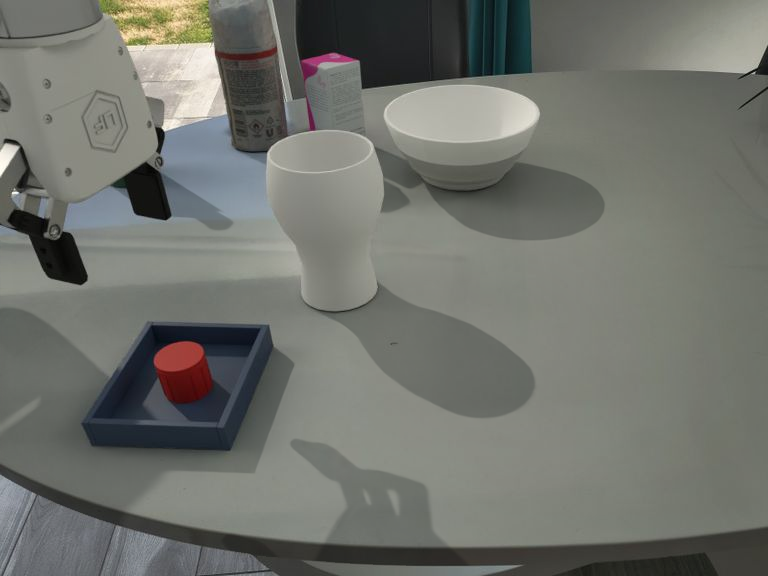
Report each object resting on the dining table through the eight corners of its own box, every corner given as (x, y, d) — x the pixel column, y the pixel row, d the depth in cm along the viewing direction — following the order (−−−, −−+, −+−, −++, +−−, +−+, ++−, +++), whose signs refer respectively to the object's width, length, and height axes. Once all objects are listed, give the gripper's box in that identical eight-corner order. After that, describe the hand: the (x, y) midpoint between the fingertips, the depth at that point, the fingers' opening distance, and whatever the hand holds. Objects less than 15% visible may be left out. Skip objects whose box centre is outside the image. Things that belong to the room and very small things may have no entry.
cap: (203, 404, 61) (193, 372, 58) (157, 402, 61) (145, 370, 59) (219, 374, 64) (211, 342, 62) (175, 371, 64) (165, 339, 62)
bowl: (558, 159, 99) (563, 98, 94) (496, 221, 86) (498, 154, 81) (434, 133, 106) (432, 76, 101) (358, 187, 93) (352, 124, 88)
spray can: (301, 133, 107) (279, -17, 94) (277, 156, 100) (250, -2, 88) (248, 128, 108) (219, -21, 96) (221, 150, 102) (186, -5, 89)
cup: (375, 326, 70) (360, 180, 60) (270, 314, 71) (240, 171, 62) (403, 267, 78) (393, 131, 69) (308, 258, 80) (286, 124, 70)
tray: (90, 445, 58) (80, 422, 56) (154, 342, 68) (147, 320, 66) (230, 450, 57) (224, 427, 56) (273, 346, 68) (269, 324, 66)
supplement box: (368, 142, 104) (361, 59, 97) (334, 155, 101) (324, 70, 93) (343, 131, 107) (334, 50, 100) (309, 143, 104) (298, 60, 97)
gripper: (-33, 54, 38) (74, 320, 48) (171, -21, 50) (220, 203, 61) (-144, 38, 39) (-17, 299, 50) (80, -31, 52) (143, 189, 63)
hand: (113, 246), depth 56 cm, fingers open, 9 cm apart
